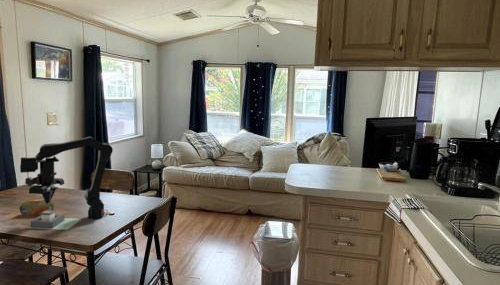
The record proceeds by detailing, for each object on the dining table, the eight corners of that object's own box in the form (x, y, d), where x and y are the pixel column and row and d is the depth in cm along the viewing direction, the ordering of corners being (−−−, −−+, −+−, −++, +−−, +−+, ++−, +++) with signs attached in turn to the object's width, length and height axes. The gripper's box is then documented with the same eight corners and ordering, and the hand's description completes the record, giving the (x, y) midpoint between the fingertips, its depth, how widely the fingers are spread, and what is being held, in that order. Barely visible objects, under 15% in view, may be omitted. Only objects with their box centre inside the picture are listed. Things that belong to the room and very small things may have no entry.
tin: (19, 217, 159) (19, 201, 158) (22, 215, 162) (21, 199, 161) (53, 216, 163) (53, 200, 162) (55, 214, 166) (55, 198, 165)
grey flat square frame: (64, 220, 157) (64, 214, 156) (53, 228, 147) (52, 221, 146) (43, 219, 156) (43, 213, 156) (30, 227, 146) (30, 220, 146)
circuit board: (81, 220, 160) (81, 218, 160) (67, 231, 146) (67, 229, 146) (45, 218, 159) (45, 217, 159) (27, 229, 145) (27, 228, 145)
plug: (54, 222, 154) (54, 210, 153) (50, 225, 150) (49, 212, 149) (46, 222, 153) (46, 209, 153) (41, 225, 149) (41, 212, 149)
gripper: (41, 166, 157) (42, 196, 159) (15, 174, 139) (16, 209, 141) (64, 167, 158) (64, 197, 160) (41, 175, 139) (42, 210, 141)
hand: (47, 203), depth 150 cm, fingers closed
